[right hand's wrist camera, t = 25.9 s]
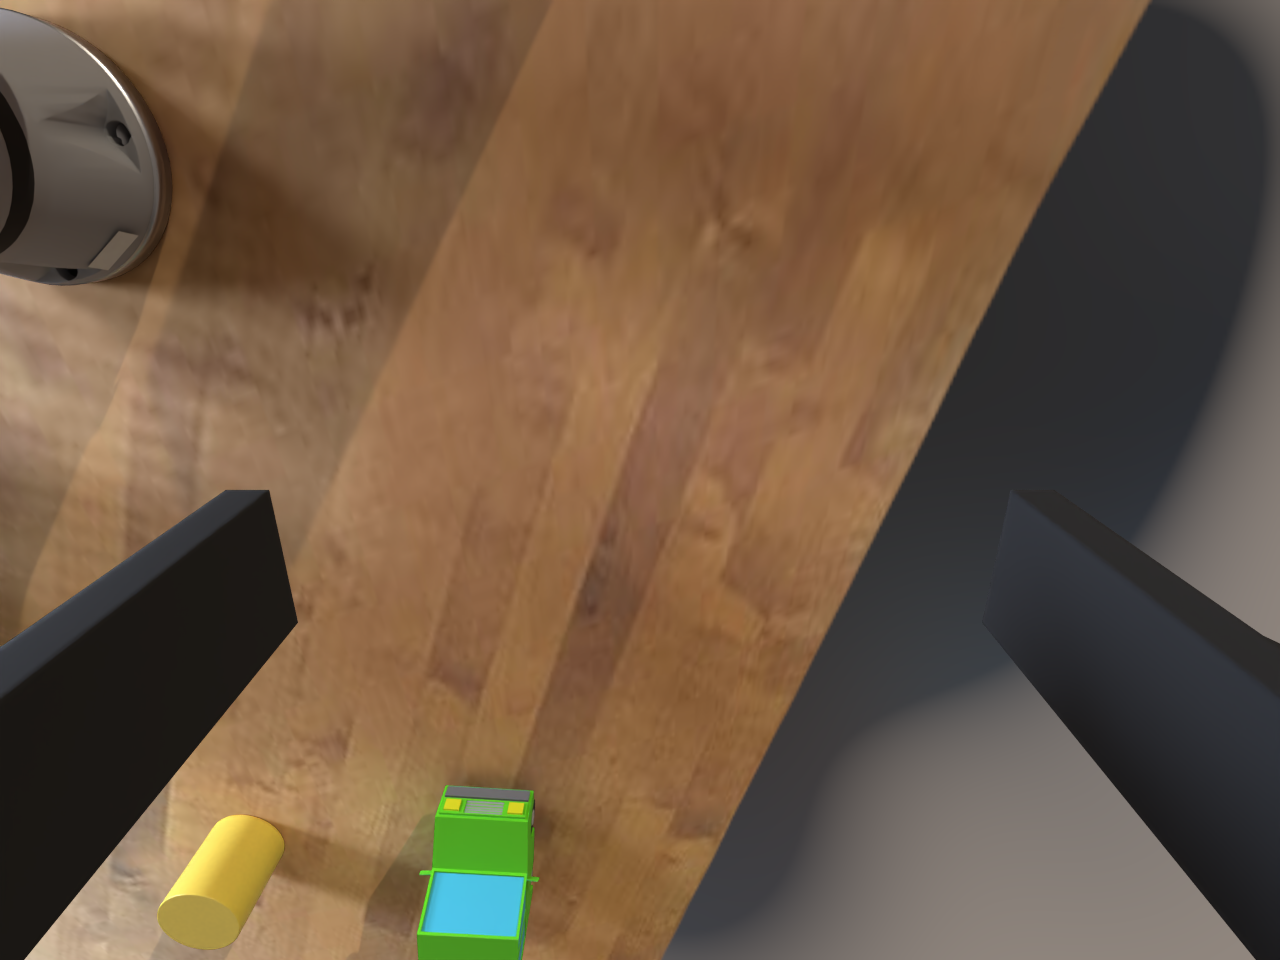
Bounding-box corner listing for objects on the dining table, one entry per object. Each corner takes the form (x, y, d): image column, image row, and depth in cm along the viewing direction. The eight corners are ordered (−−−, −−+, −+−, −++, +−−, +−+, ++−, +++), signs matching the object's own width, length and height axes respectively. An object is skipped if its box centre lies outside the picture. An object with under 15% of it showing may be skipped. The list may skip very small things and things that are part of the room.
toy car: (549, 777, 62) (533, 877, 53) (544, 881, 67) (529, 990, 58) (435, 770, 62) (399, 870, 53) (439, 875, 67) (407, 983, 58)
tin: (241, 875, 67) (191, 958, 60) (196, 828, 65) (139, 909, 58) (299, 853, 66) (256, 936, 59) (256, 805, 64) (205, 884, 56)
